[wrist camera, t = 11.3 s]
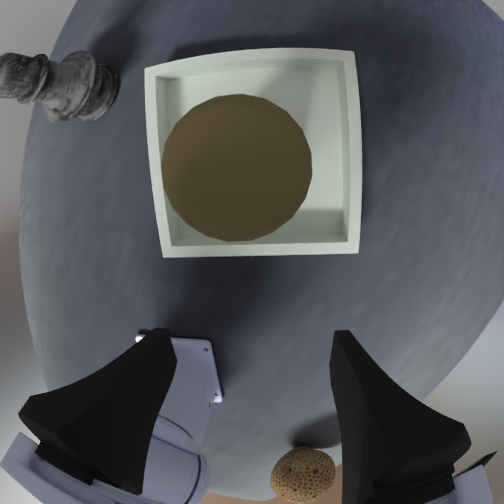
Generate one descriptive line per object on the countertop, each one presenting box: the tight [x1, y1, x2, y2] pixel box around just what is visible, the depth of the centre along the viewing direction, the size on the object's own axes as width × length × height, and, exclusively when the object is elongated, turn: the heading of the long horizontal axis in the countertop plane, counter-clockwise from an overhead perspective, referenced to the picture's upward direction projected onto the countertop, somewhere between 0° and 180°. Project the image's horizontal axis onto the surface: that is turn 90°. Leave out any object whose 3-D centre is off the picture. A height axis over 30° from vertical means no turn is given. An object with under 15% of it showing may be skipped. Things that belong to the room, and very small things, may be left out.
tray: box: [145, 48, 362, 258], centre depth 17 cm, size 14×14×2 cm
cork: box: [161, 94, 312, 242], centre depth 13 cm, size 6×6×11 cm
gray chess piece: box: [0, 51, 118, 123], centre depth 11 cm, size 6×6×12 cm
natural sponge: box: [270, 446, 335, 504], centre depth 27 cm, size 9×9×10 cm
